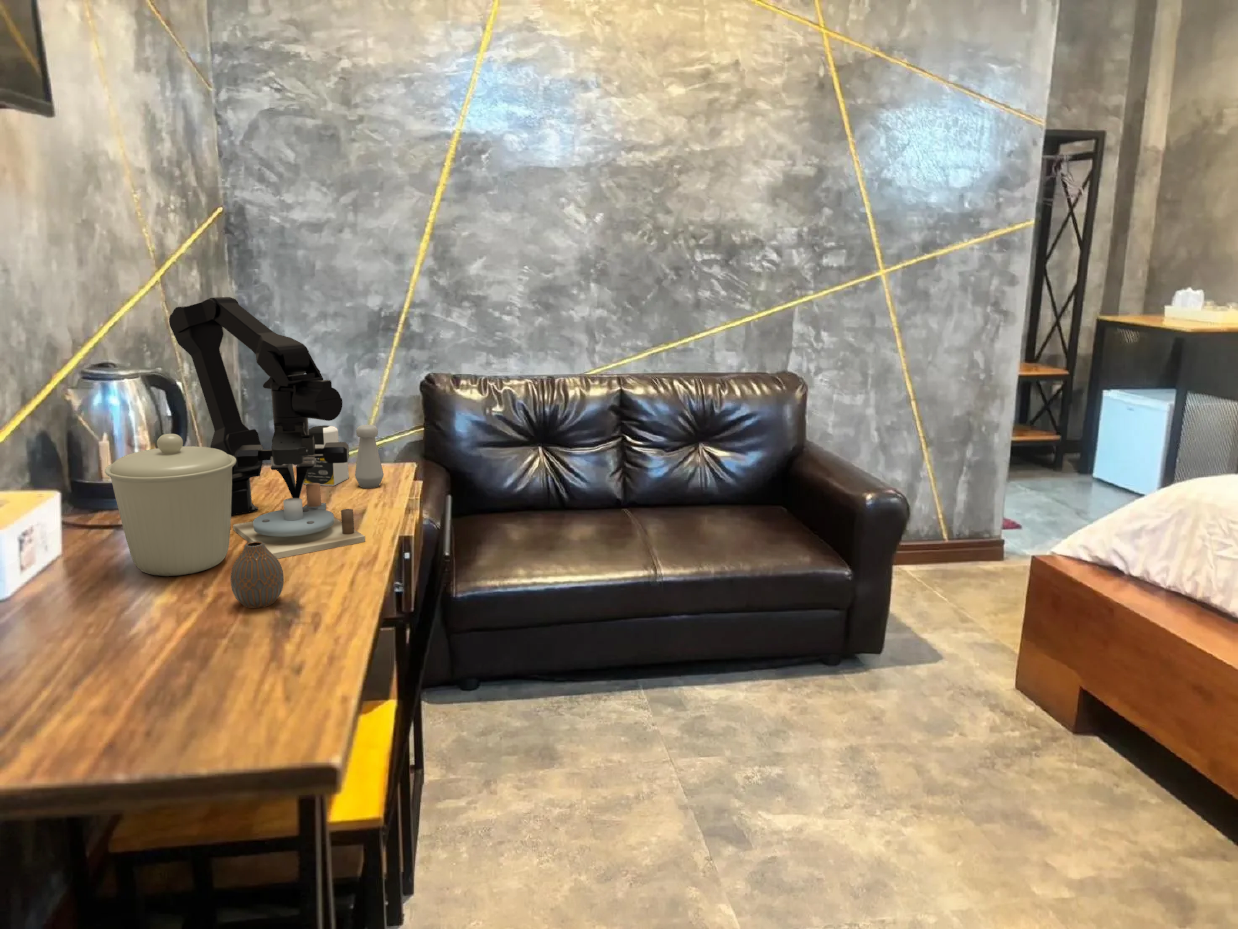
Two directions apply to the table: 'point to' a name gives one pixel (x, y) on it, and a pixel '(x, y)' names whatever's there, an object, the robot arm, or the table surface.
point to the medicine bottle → (323, 470)
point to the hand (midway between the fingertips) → (296, 501)
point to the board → (306, 537)
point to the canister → (174, 506)
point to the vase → (256, 576)
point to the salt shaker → (368, 458)
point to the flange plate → (294, 525)
